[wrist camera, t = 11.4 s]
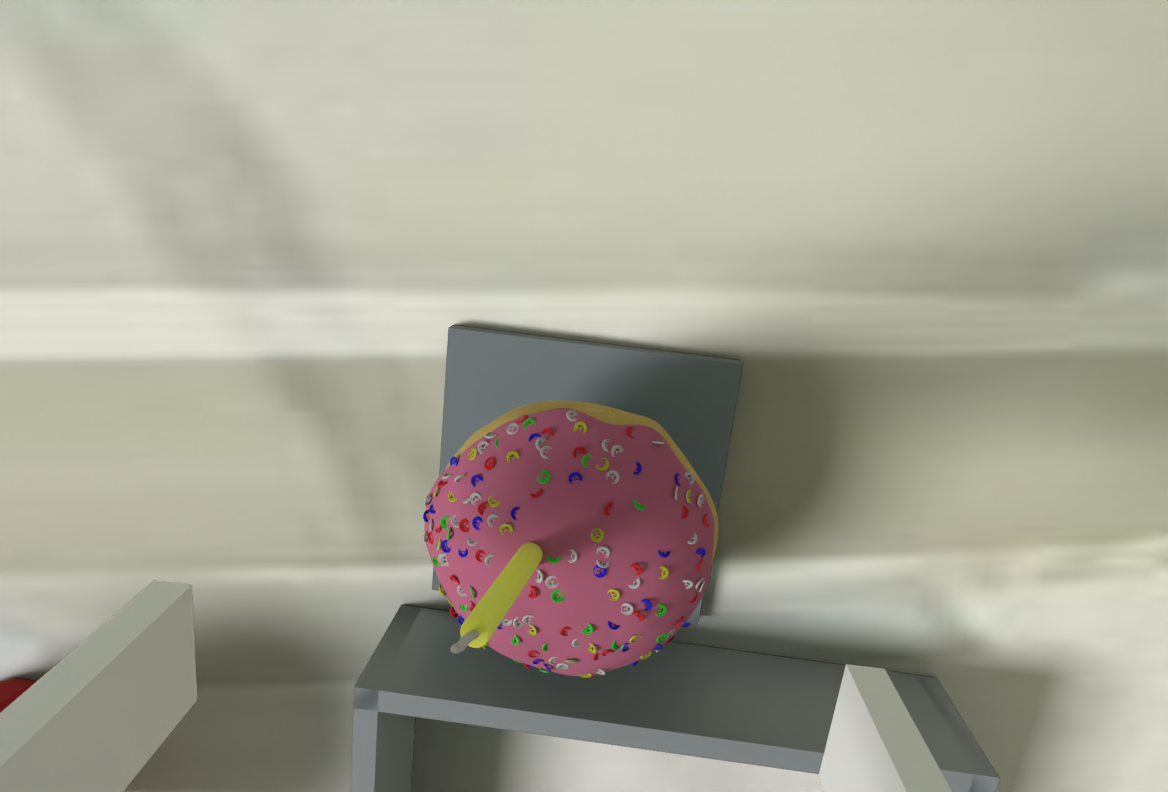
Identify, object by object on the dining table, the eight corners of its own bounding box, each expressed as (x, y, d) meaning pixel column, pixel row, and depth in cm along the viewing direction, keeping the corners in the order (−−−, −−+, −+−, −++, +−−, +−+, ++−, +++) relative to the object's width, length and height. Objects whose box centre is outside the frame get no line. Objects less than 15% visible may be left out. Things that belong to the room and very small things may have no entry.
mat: (452, 325, 26) (448, 327, 25) (740, 360, 25) (742, 364, 25) (436, 581, 28) (432, 589, 28) (696, 616, 28) (697, 625, 27)
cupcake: (418, 503, 27) (254, 735, 15) (552, 315, 25) (478, 419, 13) (610, 632, 28) (591, 944, 16) (754, 461, 26) (852, 679, 14)
